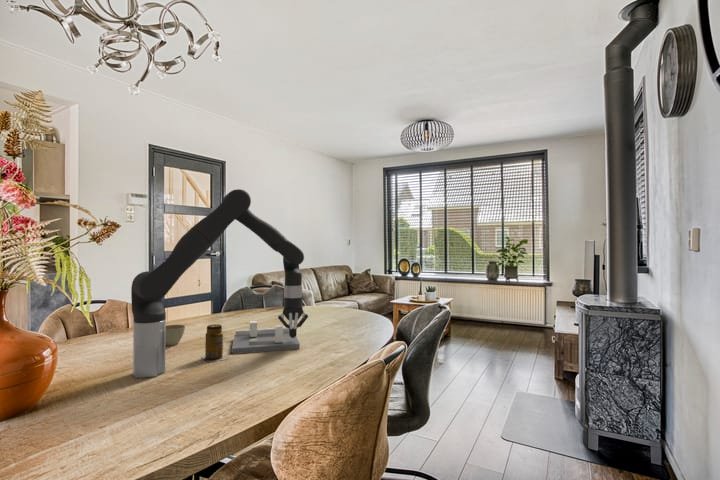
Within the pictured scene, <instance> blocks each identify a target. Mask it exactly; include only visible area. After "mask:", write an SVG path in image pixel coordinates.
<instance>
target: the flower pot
mask: <svg viewBox="0 0 720 480" xmlns="http://www.w3.org/2000/svg"><path fill="white" fill-rule="evenodd" d="M185 328H186V326H185V325H184V324H168V325H167V324H166V335H165V346H175V345H178V344H179V343H180V342H181V340H182V339H183V336H184V334H185Z"/></svg>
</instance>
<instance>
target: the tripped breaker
mask: <svg viewBox="0 0 720 480" xmlns="http://www.w3.org/2000/svg"><path fill="white" fill-rule="evenodd" d="M283 326H284V325H283V324H281V325H274V328H275V343H279V342H283Z"/></svg>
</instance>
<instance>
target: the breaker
mask: <svg viewBox="0 0 720 480" xmlns="http://www.w3.org/2000/svg"><path fill="white" fill-rule="evenodd" d="M249 329H250V337H257V329H258V321H257V320H250V321H249Z"/></svg>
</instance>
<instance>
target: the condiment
mask: <svg viewBox="0 0 720 480" xmlns="http://www.w3.org/2000/svg"><path fill="white" fill-rule="evenodd" d="M222 328H223V326H222V324H217V323H216V324H208V325H207V326H206V333H205V346H204V347H205V351H204V352H205V355H202V356H200V358H202V360H204V361H205V362H207V363H214V362H219V361H225V360H228V359H229V358H228V357H226V356H225V355H223V350H224V343H223V342H224V333H223V329H222Z"/></svg>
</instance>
